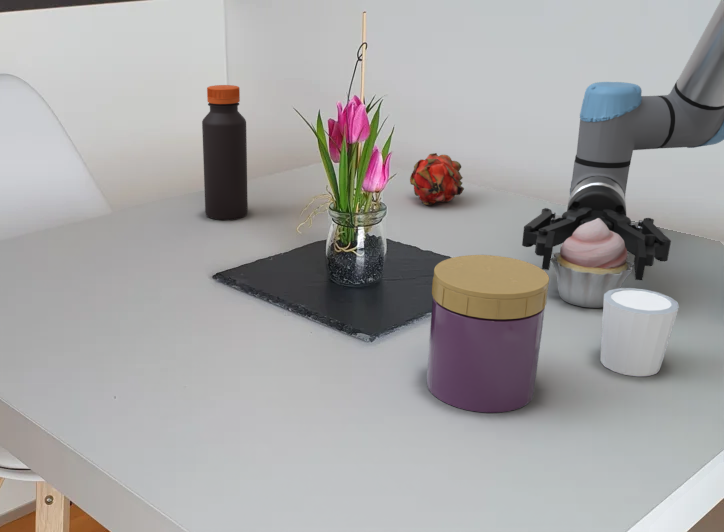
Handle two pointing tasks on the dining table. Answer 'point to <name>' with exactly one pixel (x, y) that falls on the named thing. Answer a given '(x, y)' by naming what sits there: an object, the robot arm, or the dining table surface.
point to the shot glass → (636, 330)
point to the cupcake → (591, 264)
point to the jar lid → (490, 286)
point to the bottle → (225, 155)
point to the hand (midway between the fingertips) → (592, 263)
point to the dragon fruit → (436, 179)
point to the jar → (483, 360)
